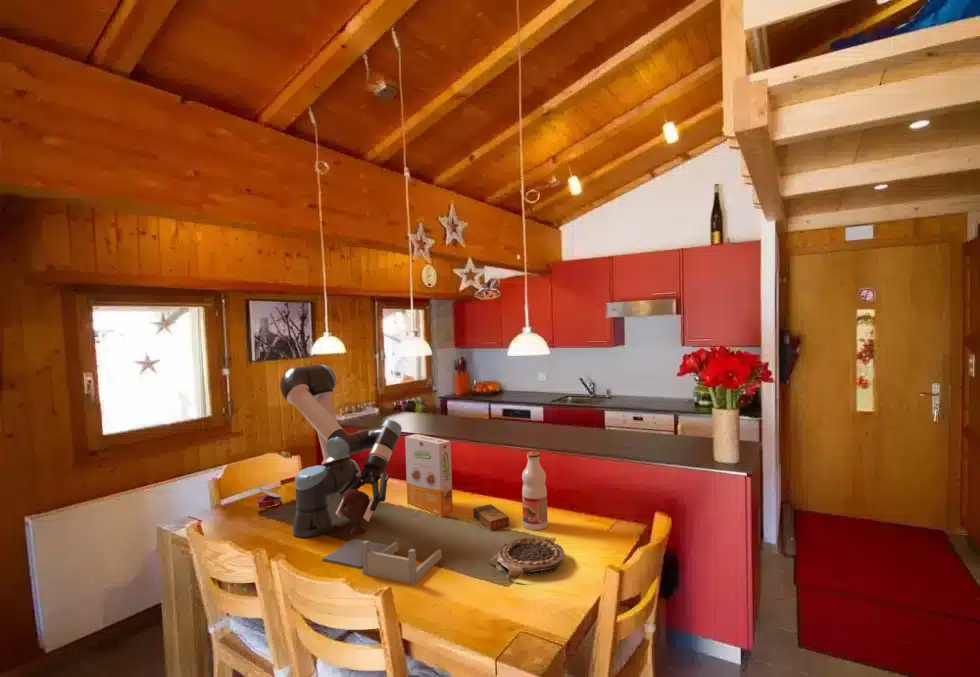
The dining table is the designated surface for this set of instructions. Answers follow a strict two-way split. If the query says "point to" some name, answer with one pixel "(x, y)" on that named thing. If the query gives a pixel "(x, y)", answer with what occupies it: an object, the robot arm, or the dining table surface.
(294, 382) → the robot arm
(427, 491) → the cereal box
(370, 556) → the open crate
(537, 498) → the fruit juice
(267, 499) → the canned food
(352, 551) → the slate mat
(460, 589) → the dining table surface
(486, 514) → the carton
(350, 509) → the ice cream bowl
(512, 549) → the pie
